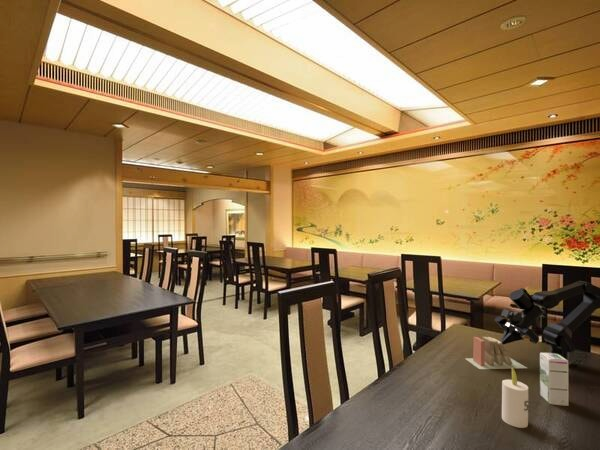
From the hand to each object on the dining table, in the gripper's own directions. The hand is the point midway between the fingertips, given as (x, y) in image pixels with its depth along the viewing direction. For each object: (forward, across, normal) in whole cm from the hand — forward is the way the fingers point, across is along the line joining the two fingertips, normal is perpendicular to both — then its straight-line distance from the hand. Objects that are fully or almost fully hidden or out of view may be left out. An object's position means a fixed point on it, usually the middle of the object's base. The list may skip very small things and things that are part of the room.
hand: (501, 343), depth 132 cm
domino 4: (+4, 0, +7) cm, 8 cm away
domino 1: (+12, 0, -1) cm, 13 cm away
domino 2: (+10, 0, +2) cm, 10 cm away
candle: (+22, +38, -10) cm, 45 cm away
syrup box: (+8, +27, +5) cm, 29 cm away
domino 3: (+7, 0, +4) cm, 8 cm away
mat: (+8, 0, +4) cm, 9 cm away
